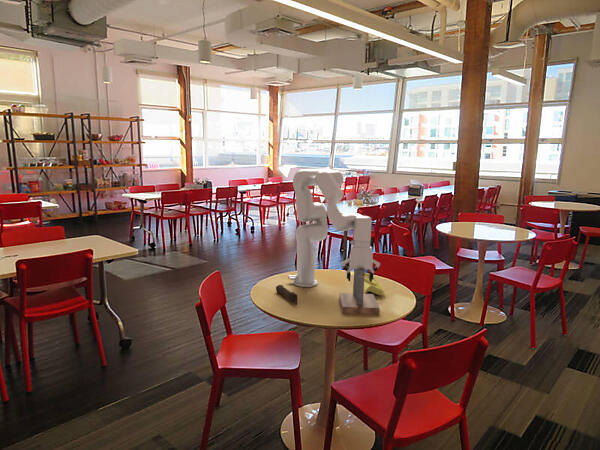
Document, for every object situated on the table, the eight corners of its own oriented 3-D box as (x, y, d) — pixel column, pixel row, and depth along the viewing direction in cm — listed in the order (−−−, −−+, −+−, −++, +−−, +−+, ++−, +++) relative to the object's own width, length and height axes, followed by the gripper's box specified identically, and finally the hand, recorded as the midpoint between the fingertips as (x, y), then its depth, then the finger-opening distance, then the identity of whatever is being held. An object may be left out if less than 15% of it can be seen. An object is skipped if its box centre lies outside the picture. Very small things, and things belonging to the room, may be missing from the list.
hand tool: (275, 292, 203) (275, 283, 202) (283, 291, 205) (283, 282, 204) (290, 306, 186) (291, 296, 186) (298, 305, 188) (299, 295, 187)
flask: (360, 294, 194) (362, 257, 191) (365, 306, 180) (367, 266, 177) (352, 294, 194) (354, 257, 191) (356, 305, 180) (358, 266, 177)
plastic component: (385, 291, 201) (368, 284, 199) (378, 304, 202) (361, 296, 200) (373, 276, 220) (358, 268, 218) (367, 287, 221) (351, 280, 219)
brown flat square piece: (342, 313, 179) (342, 306, 179) (339, 299, 196) (339, 293, 195) (379, 314, 179) (379, 307, 179) (372, 299, 196) (373, 294, 195)
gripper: (343, 245, 178) (341, 282, 182) (382, 246, 178) (380, 283, 182) (341, 241, 186) (339, 277, 189) (379, 242, 186) (377, 278, 189)
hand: (359, 280), depth 185 cm, fingers open, 9 cm apart
